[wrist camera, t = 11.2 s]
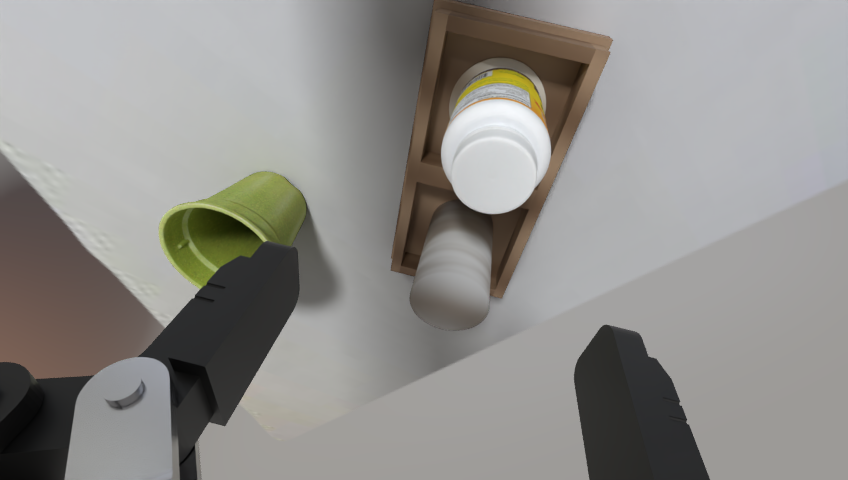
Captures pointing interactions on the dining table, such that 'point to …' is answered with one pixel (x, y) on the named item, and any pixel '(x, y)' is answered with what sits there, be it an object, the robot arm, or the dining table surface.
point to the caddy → (425, 178)
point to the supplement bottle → (496, 141)
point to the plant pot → (231, 225)
